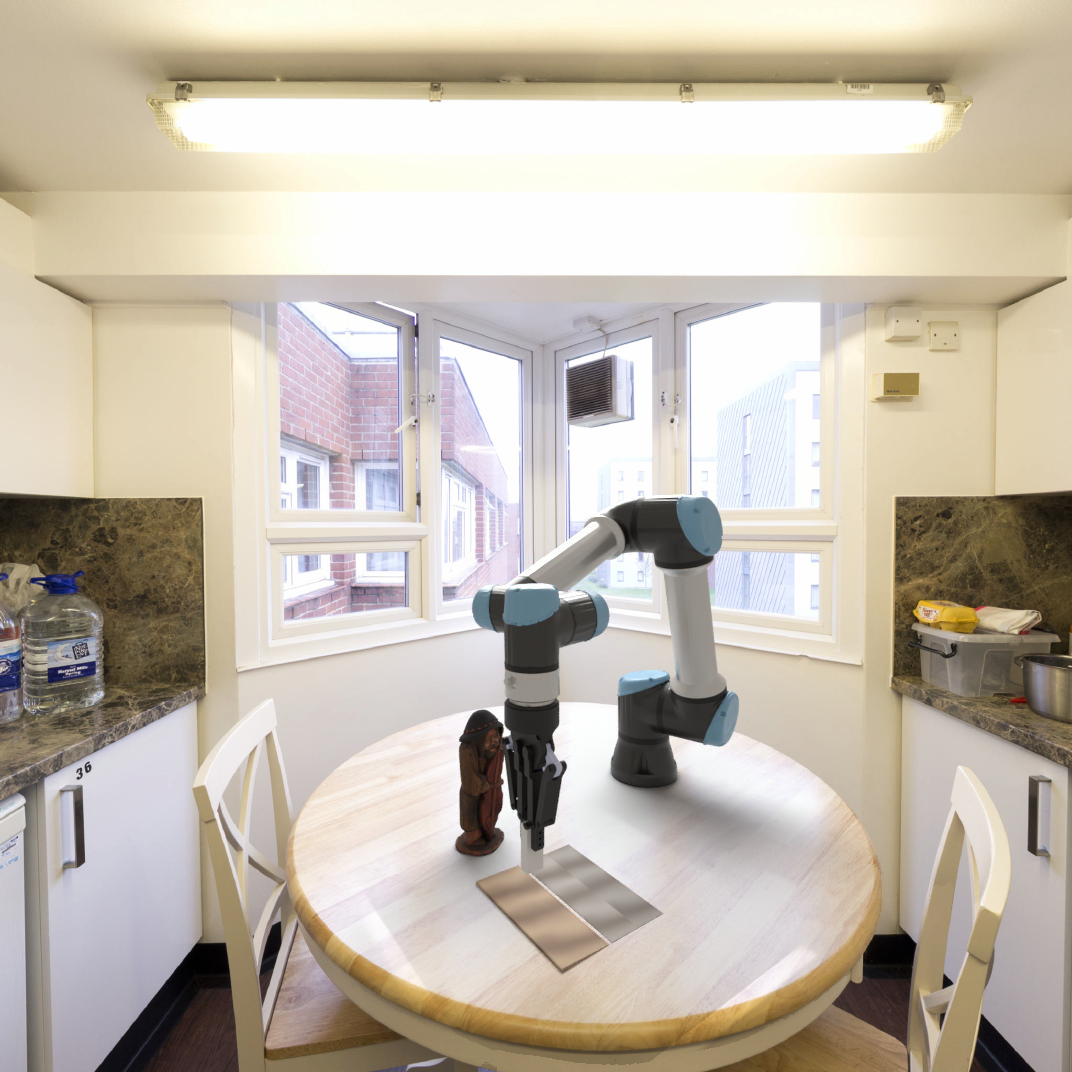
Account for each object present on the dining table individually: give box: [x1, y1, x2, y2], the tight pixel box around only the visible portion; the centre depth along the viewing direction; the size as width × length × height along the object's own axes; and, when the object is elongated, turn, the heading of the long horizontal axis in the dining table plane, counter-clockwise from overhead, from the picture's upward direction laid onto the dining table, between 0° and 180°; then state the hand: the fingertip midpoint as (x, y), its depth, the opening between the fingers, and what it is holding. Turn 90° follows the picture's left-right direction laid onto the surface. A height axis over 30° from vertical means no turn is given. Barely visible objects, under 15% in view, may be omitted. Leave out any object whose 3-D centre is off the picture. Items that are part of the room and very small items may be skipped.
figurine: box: [455, 709, 505, 857], centre depth 103 cm, size 10×8×25 cm
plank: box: [475, 864, 609, 973], centre depth 85 cm, size 22×8×2 cm, turn 35°
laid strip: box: [531, 844, 664, 944], centre depth 91 cm, size 22×10×2 cm, turn 35°
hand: (532, 868), depth 80 cm, fingers closed
